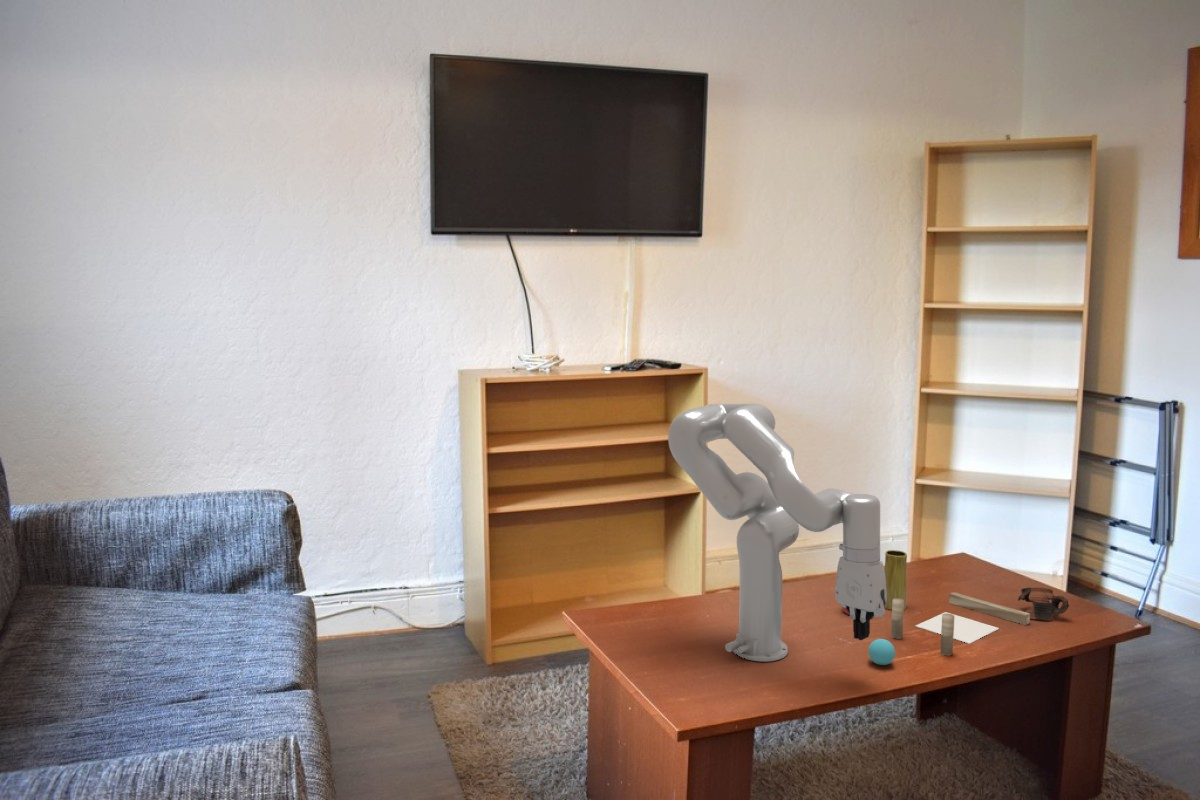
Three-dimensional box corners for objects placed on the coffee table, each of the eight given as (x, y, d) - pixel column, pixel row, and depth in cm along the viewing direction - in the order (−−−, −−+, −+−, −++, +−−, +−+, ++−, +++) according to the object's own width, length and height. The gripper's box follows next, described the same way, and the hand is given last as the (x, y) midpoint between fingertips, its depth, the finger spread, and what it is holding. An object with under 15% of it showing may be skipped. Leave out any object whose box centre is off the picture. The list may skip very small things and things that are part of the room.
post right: (948, 657, 206) (950, 618, 205) (938, 653, 208) (939, 615, 207) (954, 653, 208) (956, 615, 207) (944, 650, 210) (946, 612, 209)
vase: (890, 611, 234) (892, 557, 232) (876, 603, 239) (878, 550, 237) (911, 609, 235) (913, 555, 233) (897, 601, 241) (899, 548, 239)
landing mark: (969, 644, 213) (969, 643, 213) (915, 626, 224) (915, 625, 224) (999, 629, 222) (999, 628, 222) (945, 612, 233) (945, 611, 233)
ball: (885, 671, 199) (886, 647, 198) (862, 663, 203) (863, 639, 202) (899, 664, 202) (900, 640, 202) (877, 656, 207) (878, 632, 206)
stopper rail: (1025, 625, 224) (1025, 615, 224) (949, 603, 239) (949, 593, 239) (1029, 623, 225) (1029, 613, 225) (953, 601, 241) (953, 592, 240)
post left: (898, 639, 216) (900, 603, 215) (888, 636, 218) (890, 600, 217) (904, 637, 217) (906, 600, 216) (894, 633, 219) (896, 597, 218)
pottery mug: (1013, 619, 230) (1012, 586, 233) (1027, 626, 236) (1025, 594, 239) (1065, 618, 222) (1062, 584, 225) (1077, 625, 228) (1075, 592, 231)
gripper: (821, 550, 196) (821, 633, 198) (882, 564, 185) (882, 652, 187) (842, 543, 201) (842, 624, 203) (903, 557, 189) (902, 642, 192)
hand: (861, 637), depth 195 cm, fingers closed
